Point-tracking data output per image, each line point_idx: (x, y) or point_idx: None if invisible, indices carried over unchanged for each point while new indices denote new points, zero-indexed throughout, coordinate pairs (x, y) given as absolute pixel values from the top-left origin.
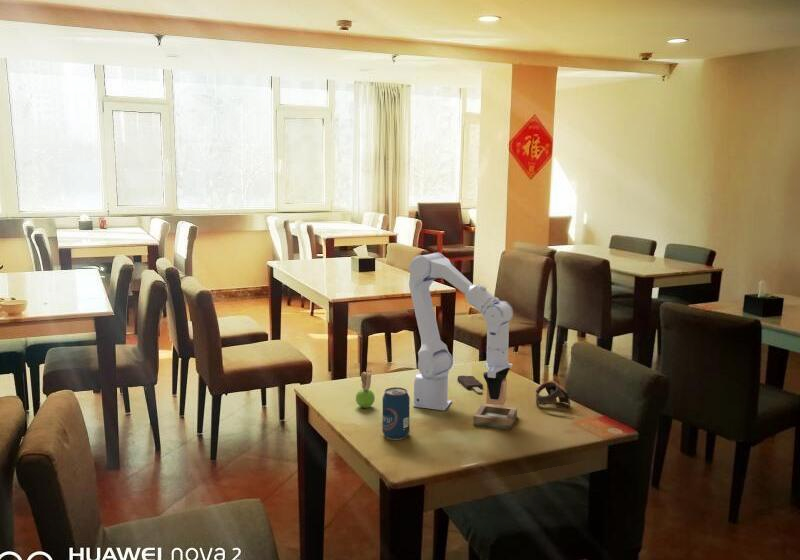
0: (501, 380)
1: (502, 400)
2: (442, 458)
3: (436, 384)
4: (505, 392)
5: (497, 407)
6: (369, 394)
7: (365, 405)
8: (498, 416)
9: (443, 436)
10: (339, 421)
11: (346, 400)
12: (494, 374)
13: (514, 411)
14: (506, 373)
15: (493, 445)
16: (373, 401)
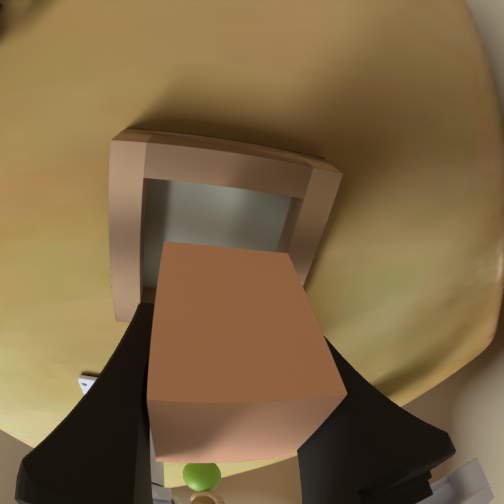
0: (434, 431)
1: (295, 280)
2: (464, 317)
3: (159, 469)
4: (205, 295)
5: (138, 253)
6: (212, 482)
7: (216, 465)
8: (197, 227)
9: (365, 349)
10: (277, 459)
11: (177, 470)
12: (484, 479)
13: (179, 151)
14: (135, 468)
15: (446, 223)
16: (204, 467)
